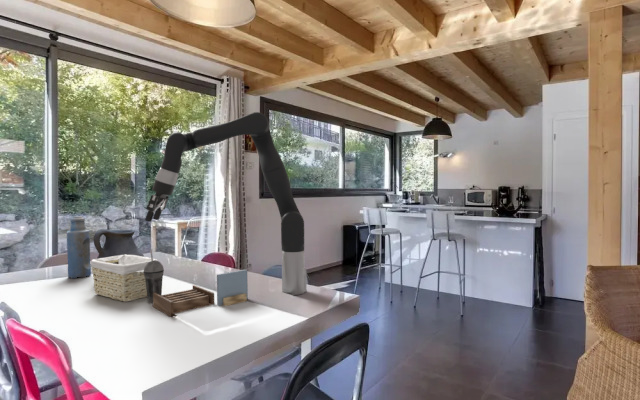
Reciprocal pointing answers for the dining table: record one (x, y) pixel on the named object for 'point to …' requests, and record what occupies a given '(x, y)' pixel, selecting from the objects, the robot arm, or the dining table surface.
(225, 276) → the plate
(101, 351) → the dining table surface
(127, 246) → the pitcher
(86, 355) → the dining table surface
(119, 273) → the storage basket
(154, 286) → the beverage cup
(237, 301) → the plate stand
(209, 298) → the rack
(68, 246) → the bottle
